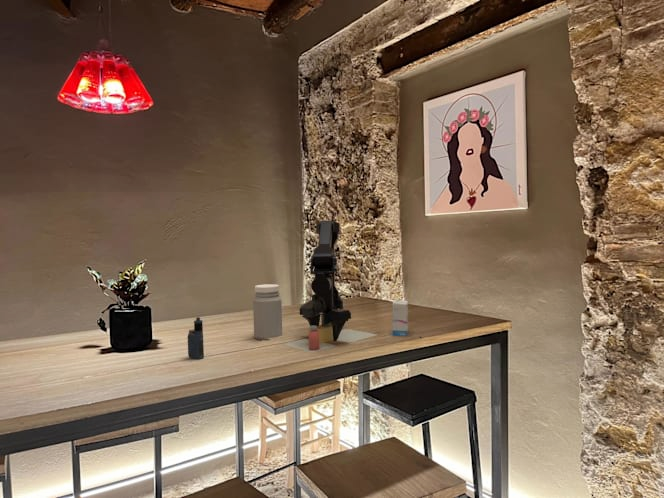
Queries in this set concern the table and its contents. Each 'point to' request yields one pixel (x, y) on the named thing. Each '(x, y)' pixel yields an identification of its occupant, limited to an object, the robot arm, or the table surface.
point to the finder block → (325, 333)
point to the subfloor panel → (344, 338)
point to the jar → (267, 312)
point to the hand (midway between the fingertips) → (325, 339)
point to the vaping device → (196, 340)
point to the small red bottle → (314, 338)
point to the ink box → (400, 318)
